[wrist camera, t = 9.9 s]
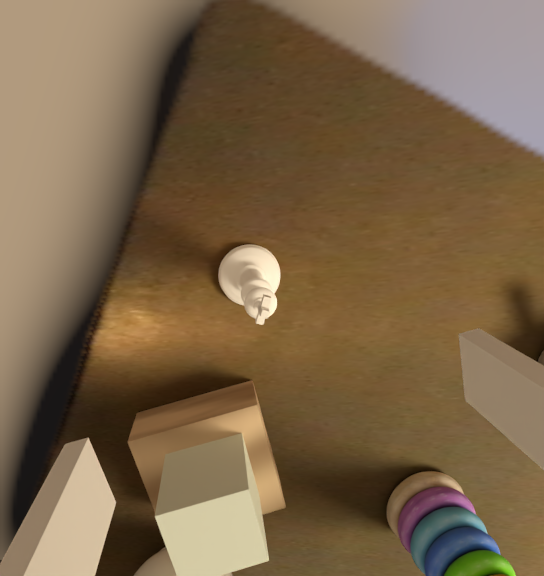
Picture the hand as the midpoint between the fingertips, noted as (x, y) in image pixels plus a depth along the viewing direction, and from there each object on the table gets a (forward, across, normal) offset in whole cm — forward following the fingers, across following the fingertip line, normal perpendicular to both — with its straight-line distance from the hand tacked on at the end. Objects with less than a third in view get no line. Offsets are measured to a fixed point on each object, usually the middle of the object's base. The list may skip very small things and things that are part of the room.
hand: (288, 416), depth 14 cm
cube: (+15, +6, +14) cm, 21 cm away
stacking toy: (+19, -12, +27) cm, 35 cm away
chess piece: (+20, 0, 0) cm, 20 cm away
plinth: (+19, +6, +14) cm, 24 cm away
